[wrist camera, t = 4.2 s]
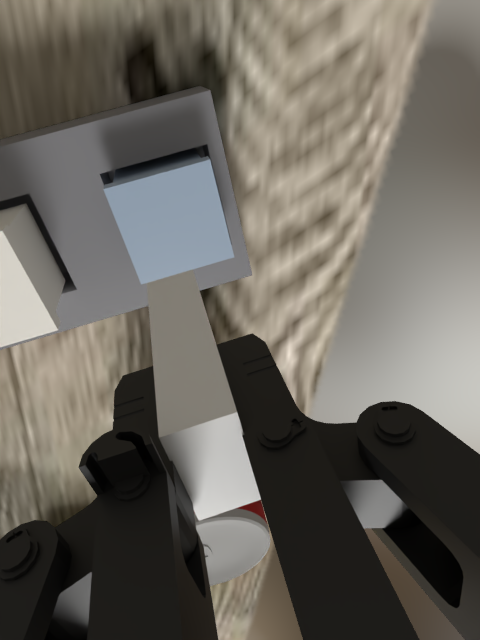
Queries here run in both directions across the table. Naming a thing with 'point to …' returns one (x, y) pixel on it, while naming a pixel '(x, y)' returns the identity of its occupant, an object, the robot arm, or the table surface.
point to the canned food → (233, 541)
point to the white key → (26, 279)
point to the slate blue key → (169, 214)
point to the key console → (91, 202)
